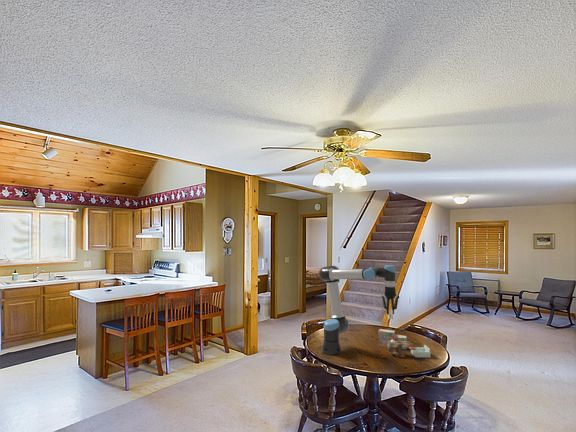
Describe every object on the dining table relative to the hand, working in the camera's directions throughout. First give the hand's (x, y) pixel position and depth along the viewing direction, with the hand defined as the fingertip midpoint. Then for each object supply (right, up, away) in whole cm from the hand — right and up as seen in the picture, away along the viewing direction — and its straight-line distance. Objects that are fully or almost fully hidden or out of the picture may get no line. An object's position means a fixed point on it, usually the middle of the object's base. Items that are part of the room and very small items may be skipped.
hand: (390, 318), depth 245 cm
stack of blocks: (+9, -30, +23) cm, 39 cm away
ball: (+4, -20, +6) cm, 21 cm away
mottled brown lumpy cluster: (+9, -26, +3) cm, 27 cm away
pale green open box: (+24, -29, +5) cm, 38 cm away
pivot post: (+8, -29, +5) cm, 30 cm away
